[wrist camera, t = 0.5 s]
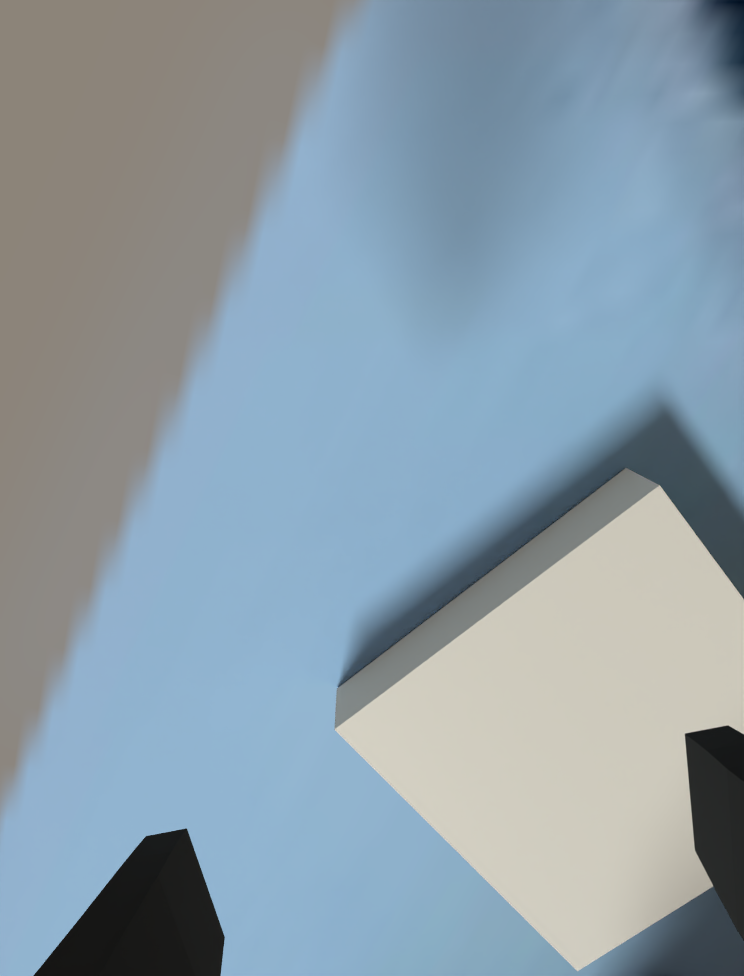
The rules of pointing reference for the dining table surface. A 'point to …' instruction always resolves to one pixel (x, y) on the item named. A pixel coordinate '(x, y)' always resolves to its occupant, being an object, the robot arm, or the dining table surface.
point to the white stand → (566, 716)
